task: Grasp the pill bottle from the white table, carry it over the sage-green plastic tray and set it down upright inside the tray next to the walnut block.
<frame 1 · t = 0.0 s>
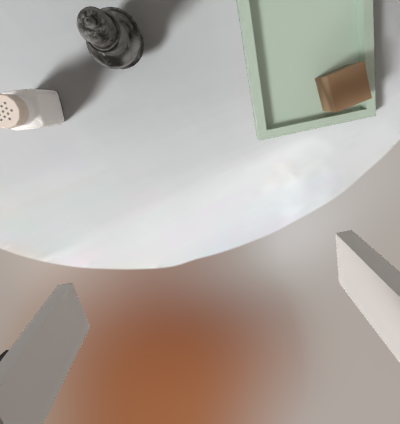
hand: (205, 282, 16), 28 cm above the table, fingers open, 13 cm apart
walnut block: (335, 88, 38), point 1 cm above the table, touching tray
tray: (302, 30, 37), on the table
salt shaker 2: (48, 108, 40), on the table
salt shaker: (121, 44, 37), on the table
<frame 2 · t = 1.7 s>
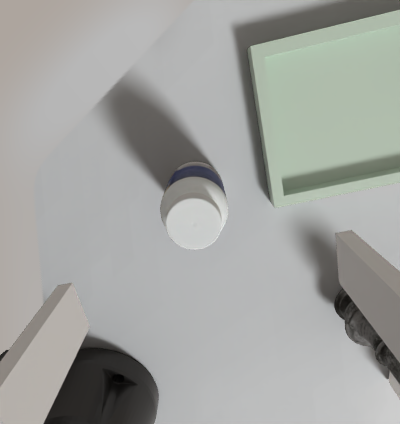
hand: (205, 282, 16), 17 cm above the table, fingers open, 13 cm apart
tray: (380, 104, 29), on the table
pill bottle: (195, 187, 32), on the table
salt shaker: (357, 301, 36), on the table
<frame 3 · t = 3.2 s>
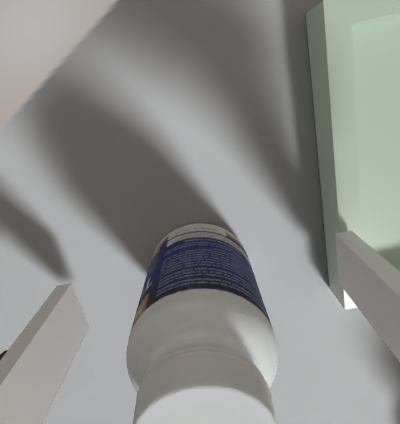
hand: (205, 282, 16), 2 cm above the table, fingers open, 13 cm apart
pill bottle: (199, 263, 18), on the table
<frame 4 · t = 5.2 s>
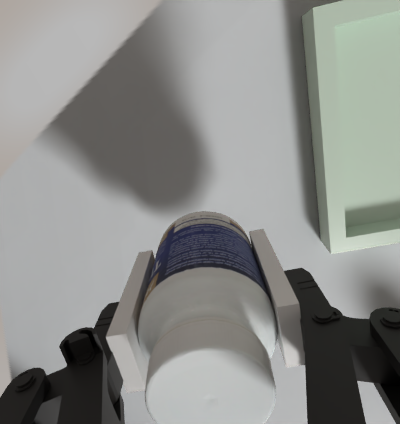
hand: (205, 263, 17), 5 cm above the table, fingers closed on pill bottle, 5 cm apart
pill bottle: (204, 250, 19), point 4 cm above the table, touching gripper
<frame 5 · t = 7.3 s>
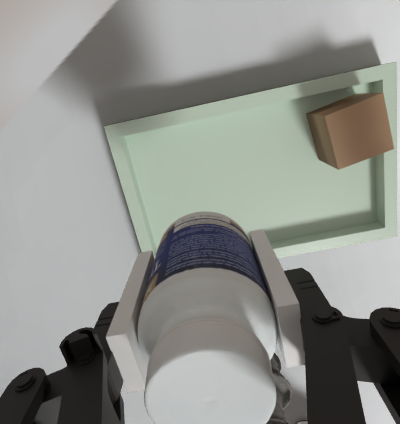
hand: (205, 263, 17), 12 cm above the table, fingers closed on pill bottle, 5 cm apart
walnut block: (336, 127, 26), point 1 cm above the table, touching tray
tray: (255, 178, 28), on the table
pill bottle: (204, 250, 19), point 10 cm above the table, touching gripper
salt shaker: (256, 365, 35), on the table
when the fingers open (2 cm above the table, at t = 9.6 s): pill bottle stays where it is, resting on tray.
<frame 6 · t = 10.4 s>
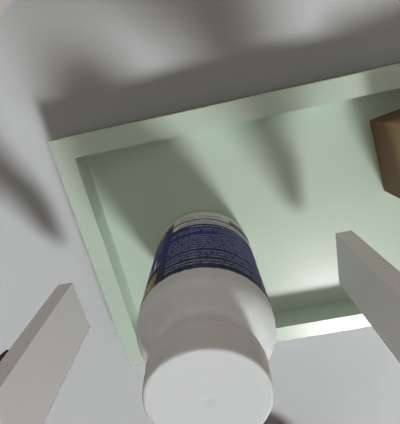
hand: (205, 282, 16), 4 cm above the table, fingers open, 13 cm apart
tray: (285, 217, 19), on the table
pill bottle: (203, 250, 19), resting on tray
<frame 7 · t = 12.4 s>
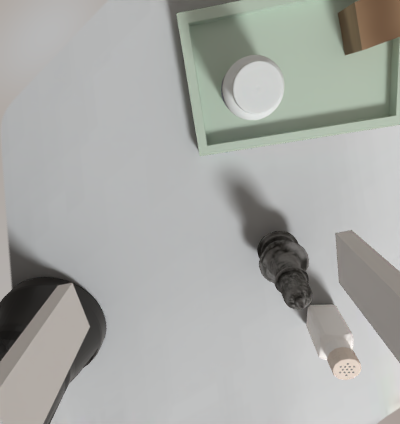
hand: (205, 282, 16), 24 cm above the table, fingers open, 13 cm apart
walnut block: (361, 27, 32), point 1 cm above the table, touching tray
tray: (291, 72, 34), on the table
salt shaker 2: (319, 313, 45), on the table
pill bottle: (245, 89, 34), resting on tray
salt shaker: (277, 249, 42), on the table
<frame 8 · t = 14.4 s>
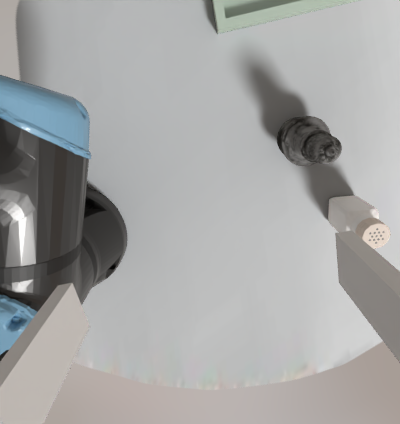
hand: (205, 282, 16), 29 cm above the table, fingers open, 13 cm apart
salt shaker 2: (340, 208, 45), on the table
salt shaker: (297, 138, 42), on the table
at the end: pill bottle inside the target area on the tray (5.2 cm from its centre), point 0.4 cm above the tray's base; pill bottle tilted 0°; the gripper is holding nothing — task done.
